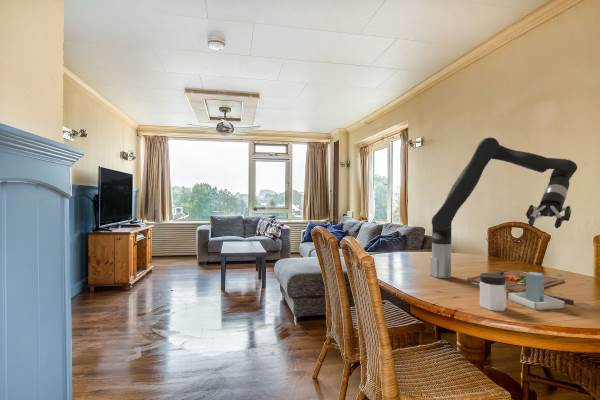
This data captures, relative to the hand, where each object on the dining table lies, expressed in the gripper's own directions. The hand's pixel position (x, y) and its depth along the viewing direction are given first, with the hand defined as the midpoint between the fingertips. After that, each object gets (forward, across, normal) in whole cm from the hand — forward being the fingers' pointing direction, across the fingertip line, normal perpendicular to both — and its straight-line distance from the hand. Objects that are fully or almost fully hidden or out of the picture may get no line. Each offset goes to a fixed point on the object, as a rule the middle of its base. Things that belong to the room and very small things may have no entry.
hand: (543, 226), depth 129 cm
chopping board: (+6, -18, +37) cm, 42 cm away
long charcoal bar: (+19, +4, +22) cm, 30 cm away
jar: (+40, -7, +3) cm, 40 cm away
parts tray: (+27, 0, +15) cm, 31 cm away
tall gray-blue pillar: (+26, 0, +14) cm, 30 cm away
